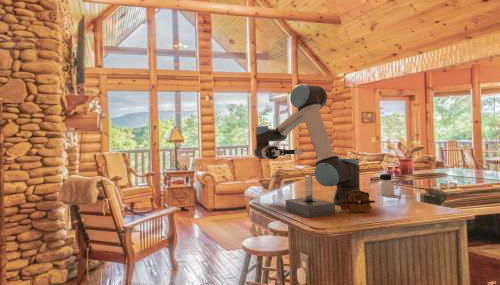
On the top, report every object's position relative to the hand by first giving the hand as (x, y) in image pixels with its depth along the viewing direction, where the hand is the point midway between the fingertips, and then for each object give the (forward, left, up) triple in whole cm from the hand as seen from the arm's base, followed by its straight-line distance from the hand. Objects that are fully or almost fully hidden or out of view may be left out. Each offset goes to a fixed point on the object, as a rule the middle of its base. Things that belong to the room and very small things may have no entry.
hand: (290, 152), depth 193 cm
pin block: (-12, +15, -27) cm, 33 cm away
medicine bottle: (-45, -42, -27) cm, 67 cm away
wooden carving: (-33, +11, -27) cm, 44 cm away
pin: (-12, +15, -26) cm, 33 cm away
